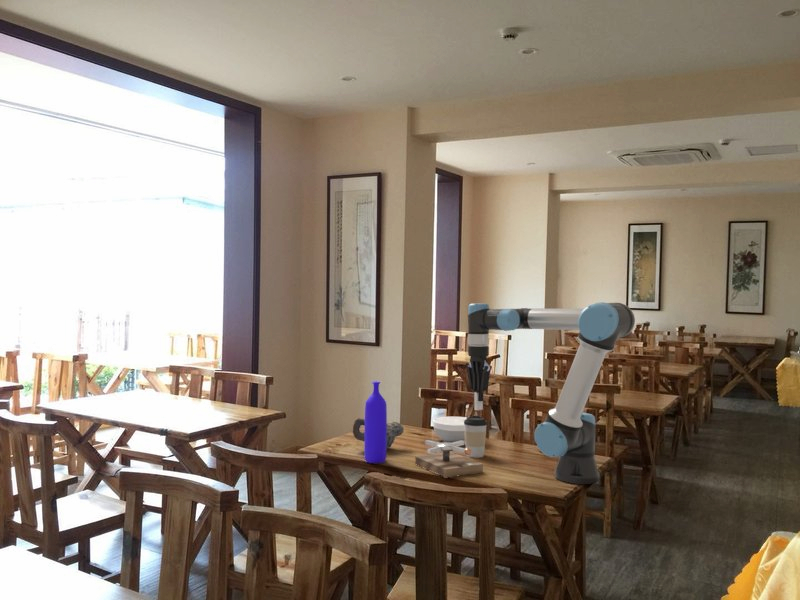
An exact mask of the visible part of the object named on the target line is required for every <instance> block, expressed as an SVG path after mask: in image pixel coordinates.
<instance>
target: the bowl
mask: <svg viewBox="0 0 800 600" xmlns="http://www.w3.org/2000/svg"><path fill="white" fill-rule="evenodd" d="M467 418H468V416H467V417H465V416H448V415H447V416H440V417H435V418H433V420H432V426H433V430H434V432H435V434H436V435H437V437H438V438H439V439H441V441H442V443H453V442H457V441H461V440H462V441H464V444H465V432H464V429H465V425H464V420H466V419H467Z"/></svg>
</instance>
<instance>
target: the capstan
mask: <svg viewBox="0 0 800 600" xmlns="http://www.w3.org/2000/svg"><path fill="white" fill-rule="evenodd" d="M424 444H425V445H427V446H430V447H431V448H427V450H426V451H427V454H429V455H430V454H436V453H440V452H443V451H450V452H456V453H461V454H465V455H470V454H471V449H469V448H466V447H461V446H465V443H464V441H462V440H461V441H457V442H453V443H445V442H439V441H438V442H437V441H434V440H429V439H426V440H424Z"/></svg>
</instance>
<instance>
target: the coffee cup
mask: <svg viewBox="0 0 800 600" xmlns="http://www.w3.org/2000/svg"><path fill="white" fill-rule="evenodd" d="M464 425H465V429H464V432H465V443H464V446H465V449H466V448H469V449H471V454H470V455H466V454H465V455H466V456H465V457H467V458H483V457H485V456H484V455H485V447H486V439H487V425H488V421H487V420H485V418H484V417H481V416H479V415H472V416H467V419H466V420H464Z"/></svg>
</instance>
